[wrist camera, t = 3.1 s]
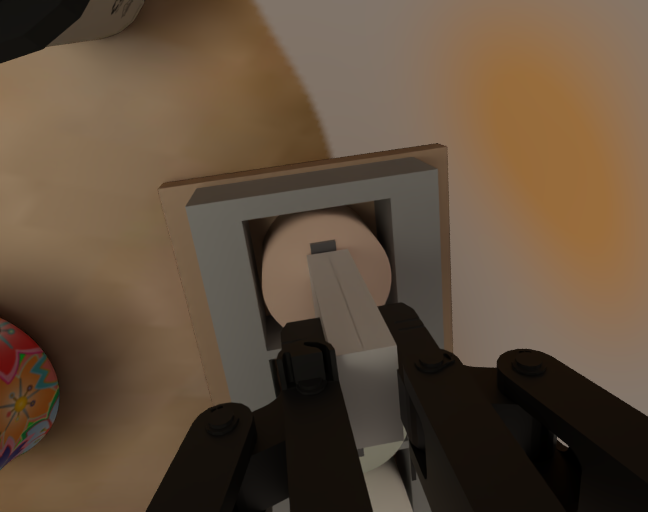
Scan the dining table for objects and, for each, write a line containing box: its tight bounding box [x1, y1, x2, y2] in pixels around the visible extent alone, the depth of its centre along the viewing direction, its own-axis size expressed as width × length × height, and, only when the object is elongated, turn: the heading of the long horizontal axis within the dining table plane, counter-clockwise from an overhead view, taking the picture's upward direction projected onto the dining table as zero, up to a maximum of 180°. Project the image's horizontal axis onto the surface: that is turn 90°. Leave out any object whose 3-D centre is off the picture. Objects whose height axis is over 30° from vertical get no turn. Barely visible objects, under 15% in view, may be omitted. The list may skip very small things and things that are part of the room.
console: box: [158, 143, 453, 512], centre depth 22 cm, size 12×19×4 cm, turn 7°
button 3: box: [262, 205, 391, 327], centre depth 19 cm, size 5×5×3 cm
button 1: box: [363, 456, 413, 512], centre depth 22 cm, size 5×5×3 cm
